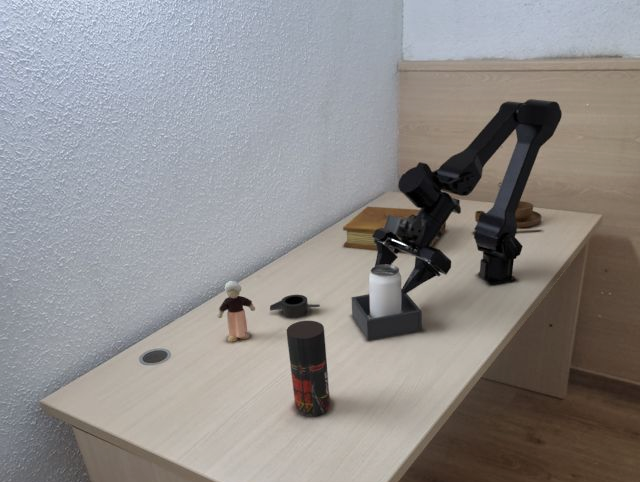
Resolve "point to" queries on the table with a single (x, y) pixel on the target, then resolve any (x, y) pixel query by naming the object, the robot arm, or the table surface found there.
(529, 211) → the place setting
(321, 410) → the deodorant
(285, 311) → the dark ring with tabs
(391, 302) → the can
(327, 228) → the table surface
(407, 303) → the bin
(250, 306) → the grandmother figurine
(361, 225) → the diary
